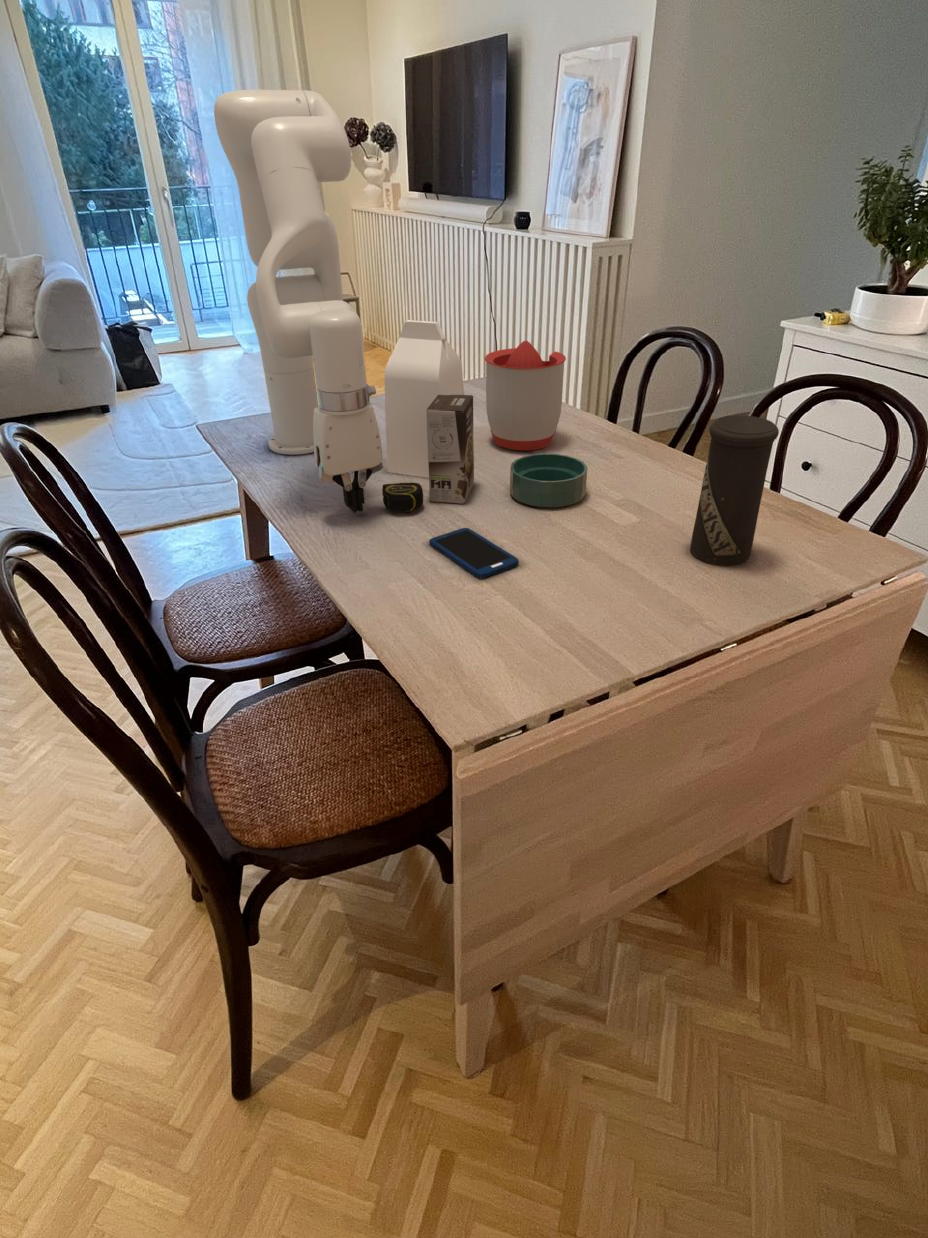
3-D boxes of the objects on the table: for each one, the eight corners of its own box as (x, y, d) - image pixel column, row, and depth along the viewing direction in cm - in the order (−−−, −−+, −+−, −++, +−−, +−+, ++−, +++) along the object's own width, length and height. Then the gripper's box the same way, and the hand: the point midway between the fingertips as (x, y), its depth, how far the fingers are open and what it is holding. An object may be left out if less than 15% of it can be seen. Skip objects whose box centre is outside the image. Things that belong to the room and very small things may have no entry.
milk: (387, 471, 137) (375, 326, 123) (413, 451, 146) (404, 313, 131) (445, 480, 133) (440, 330, 119) (468, 458, 142) (466, 317, 128)
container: (680, 541, 111) (701, 411, 100) (737, 538, 112) (764, 408, 101) (700, 569, 104) (725, 432, 93) (761, 565, 104) (793, 429, 93)
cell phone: (480, 579, 102) (480, 575, 102) (427, 543, 112) (426, 538, 111) (521, 564, 106) (521, 560, 105) (466, 530, 115) (466, 526, 115)
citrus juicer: (577, 434, 152) (584, 334, 141) (539, 461, 140) (543, 353, 129) (512, 423, 159) (514, 326, 148) (470, 447, 147) (469, 344, 136)
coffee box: (465, 504, 124) (463, 410, 115) (428, 502, 125) (424, 408, 116) (475, 483, 131) (474, 394, 122) (440, 481, 132) (437, 392, 124)
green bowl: (496, 489, 129) (496, 462, 126) (557, 474, 134) (558, 448, 131) (536, 516, 120) (537, 487, 117) (600, 499, 125) (602, 472, 122)
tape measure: (422, 498, 126) (421, 478, 124) (424, 515, 120) (423, 494, 118) (383, 501, 126) (381, 480, 124) (383, 517, 120) (381, 496, 118)
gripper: (378, 385, 116) (387, 491, 126) (288, 399, 110) (304, 510, 120) (398, 396, 111) (405, 507, 121) (303, 413, 105) (320, 528, 115)
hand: (355, 508), depth 121 cm, fingers closed
